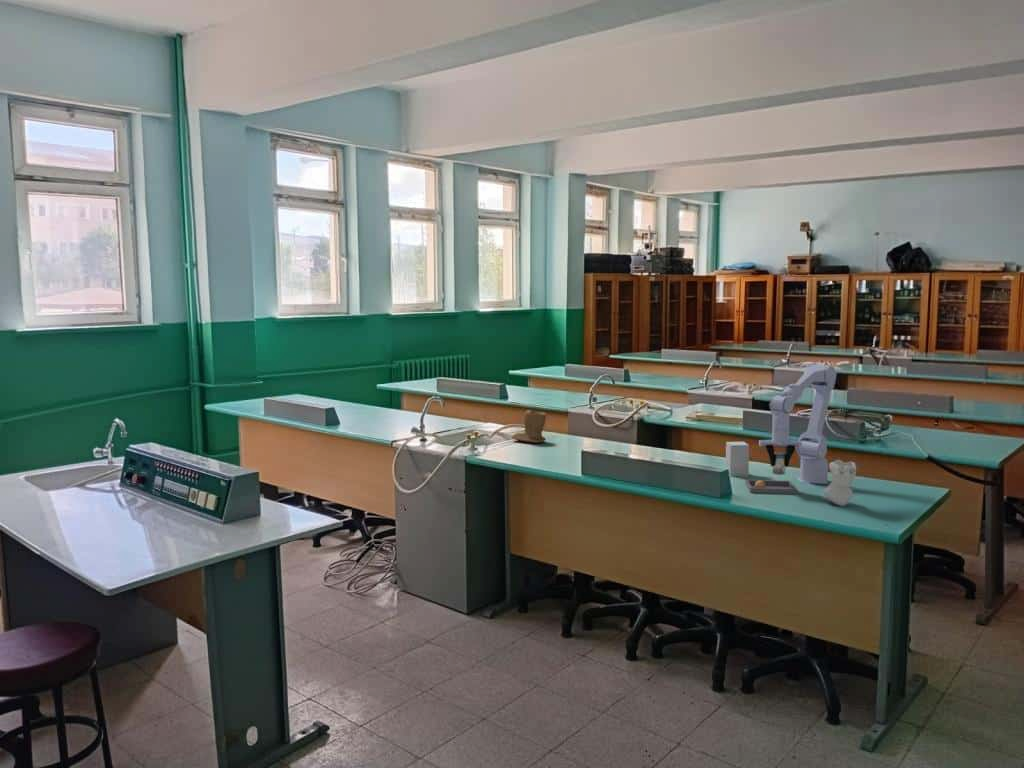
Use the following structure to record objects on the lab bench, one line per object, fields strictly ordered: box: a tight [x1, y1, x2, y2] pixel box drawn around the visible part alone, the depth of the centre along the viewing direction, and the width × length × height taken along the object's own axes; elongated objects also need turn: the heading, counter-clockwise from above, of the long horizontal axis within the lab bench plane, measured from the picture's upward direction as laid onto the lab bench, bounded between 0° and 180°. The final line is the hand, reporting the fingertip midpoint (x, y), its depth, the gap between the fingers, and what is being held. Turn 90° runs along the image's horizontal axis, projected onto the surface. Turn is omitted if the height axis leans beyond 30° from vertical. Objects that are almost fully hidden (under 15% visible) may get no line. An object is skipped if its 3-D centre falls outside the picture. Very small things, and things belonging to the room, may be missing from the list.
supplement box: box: [725, 441, 750, 477], centre depth 308 cm, size 7×7×13 cm
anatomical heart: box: [823, 459, 857, 507], centre depth 265 cm, size 10×11×15 cm
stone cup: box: [511, 409, 547, 443], centre depth 375 cm, size 15×12×15 cm
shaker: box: [772, 452, 786, 476], centre depth 285 cm, size 5×5×7 cm
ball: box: [755, 481, 765, 488], centre depth 284 cm, size 4×4×4 cm
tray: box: [744, 479, 798, 495], centre depth 286 cm, size 16×12×2 cm
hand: (779, 465), depth 285 cm, fingers closed on shaker, 4 cm apart
